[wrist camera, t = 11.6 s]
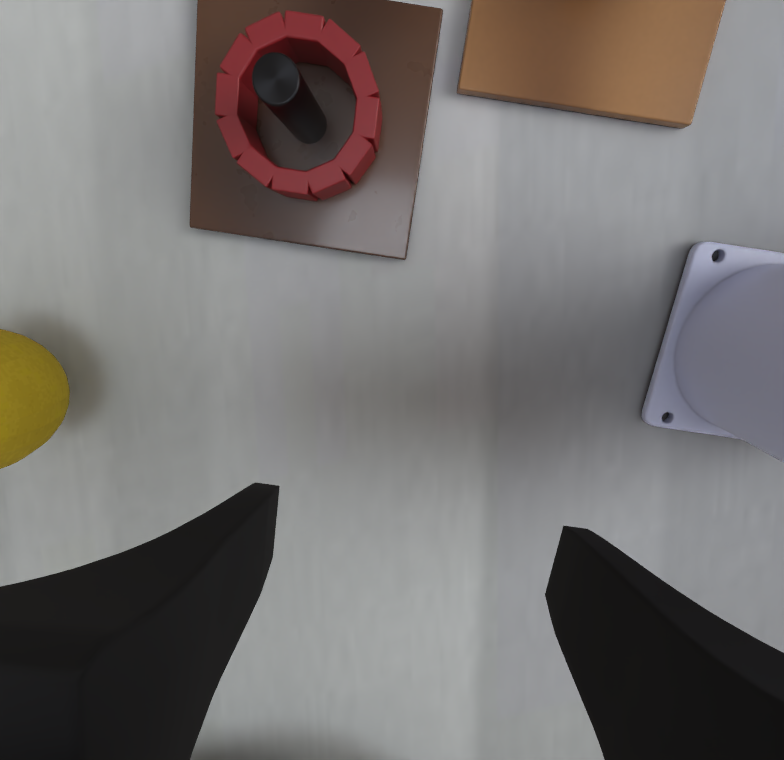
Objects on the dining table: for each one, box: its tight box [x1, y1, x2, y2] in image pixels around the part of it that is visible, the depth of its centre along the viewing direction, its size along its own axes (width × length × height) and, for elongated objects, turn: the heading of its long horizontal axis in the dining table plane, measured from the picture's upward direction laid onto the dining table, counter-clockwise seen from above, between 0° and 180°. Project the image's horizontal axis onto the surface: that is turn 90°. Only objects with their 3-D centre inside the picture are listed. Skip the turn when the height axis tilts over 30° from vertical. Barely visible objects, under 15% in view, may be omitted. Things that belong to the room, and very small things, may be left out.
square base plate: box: [190, 0, 443, 260], centre depth 16 cm, size 9×9×6 cm
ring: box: [215, 10, 382, 201], centre depth 17 cm, size 6×6×2 cm
